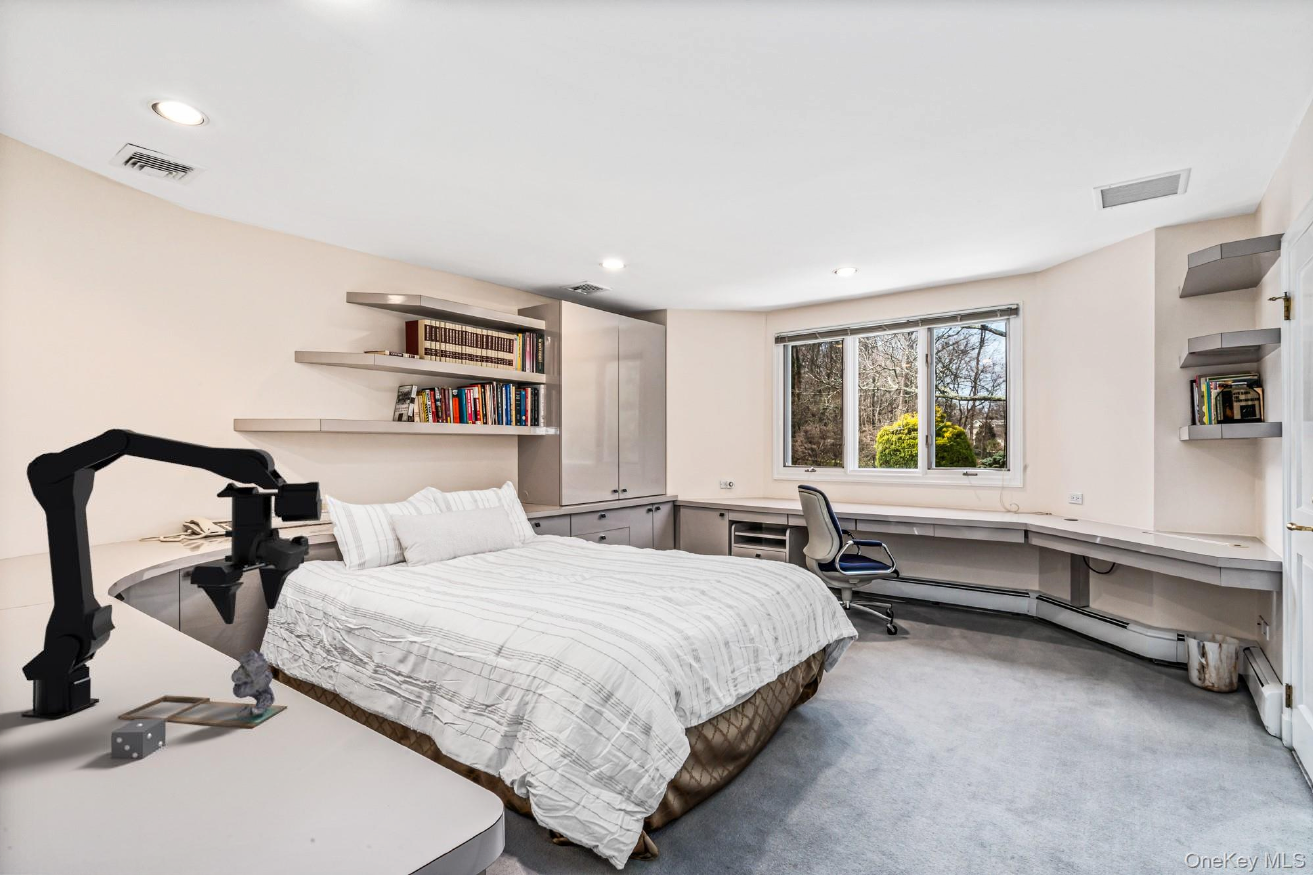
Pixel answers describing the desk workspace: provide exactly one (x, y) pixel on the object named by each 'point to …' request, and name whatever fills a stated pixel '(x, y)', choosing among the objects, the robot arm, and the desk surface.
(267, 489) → the robot arm
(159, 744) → the die
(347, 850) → the desk surface
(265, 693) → the seashell
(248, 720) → the board
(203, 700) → the frame
